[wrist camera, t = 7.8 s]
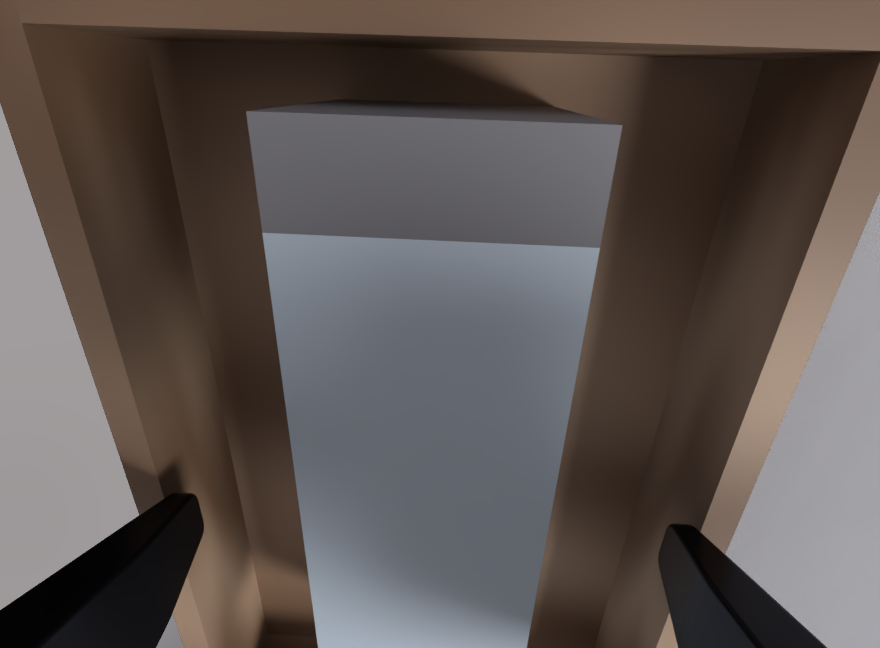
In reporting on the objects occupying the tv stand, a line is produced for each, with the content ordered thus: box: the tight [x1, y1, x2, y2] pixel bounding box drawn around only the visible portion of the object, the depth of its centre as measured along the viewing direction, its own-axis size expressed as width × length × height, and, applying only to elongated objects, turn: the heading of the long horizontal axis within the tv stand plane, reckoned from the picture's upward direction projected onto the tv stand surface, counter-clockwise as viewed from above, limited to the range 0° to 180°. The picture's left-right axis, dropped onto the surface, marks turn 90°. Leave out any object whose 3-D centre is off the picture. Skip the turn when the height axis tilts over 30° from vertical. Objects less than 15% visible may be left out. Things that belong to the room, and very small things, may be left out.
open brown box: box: [0, 0, 880, 648], centre depth 10 cm, size 17×11×3 cm, turn 178°
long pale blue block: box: [246, 99, 623, 648], centre depth 9 cm, size 13×4×4 cm, turn 178°
